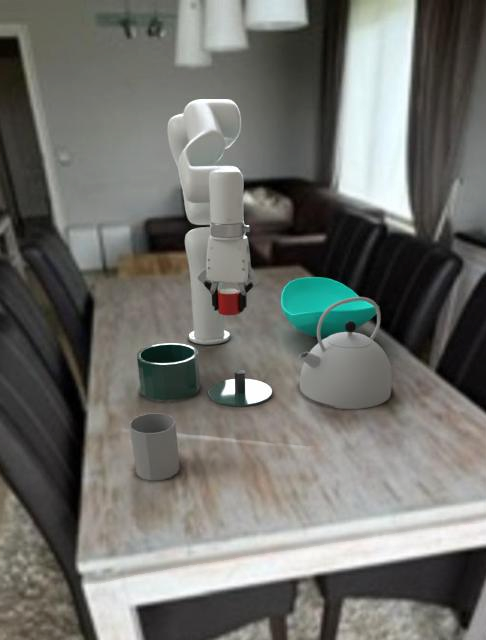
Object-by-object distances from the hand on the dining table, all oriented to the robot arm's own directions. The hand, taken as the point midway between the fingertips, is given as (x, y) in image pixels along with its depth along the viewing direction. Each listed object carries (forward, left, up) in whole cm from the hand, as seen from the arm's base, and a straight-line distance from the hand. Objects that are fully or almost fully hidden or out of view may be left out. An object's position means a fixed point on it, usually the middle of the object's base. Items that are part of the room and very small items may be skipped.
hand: (229, 309), depth 139 cm
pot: (+11, -13, -18) cm, 25 cm away
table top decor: (-38, +21, -18) cm, 47 cm away
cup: (+48, -3, -18) cm, 52 cm away
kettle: (+3, +29, -18) cm, 34 cm away
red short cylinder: (0, 0, -1) cm, 1 cm away
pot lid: (+11, +5, -17) cm, 21 cm away
